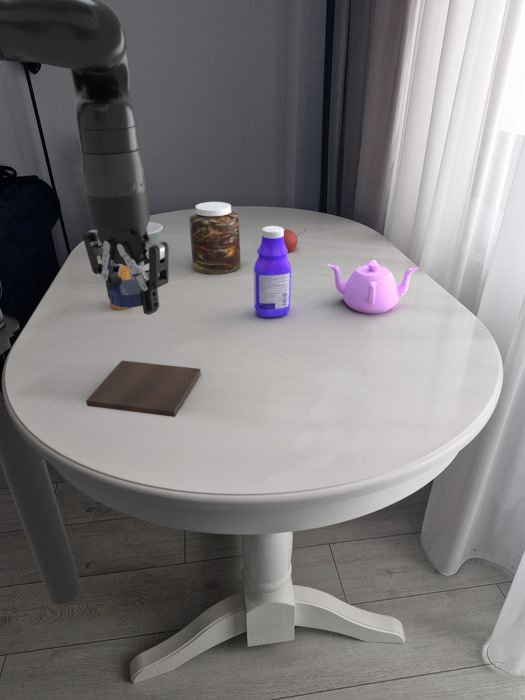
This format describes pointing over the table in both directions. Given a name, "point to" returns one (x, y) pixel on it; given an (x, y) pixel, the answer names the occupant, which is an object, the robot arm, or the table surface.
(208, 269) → the jar
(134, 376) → the board
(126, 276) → the orange cylindrical container
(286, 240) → the fruit
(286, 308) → the bottle
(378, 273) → the teapot
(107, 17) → the robot arm
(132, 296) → the lid
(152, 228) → the food container
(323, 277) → the table surface
